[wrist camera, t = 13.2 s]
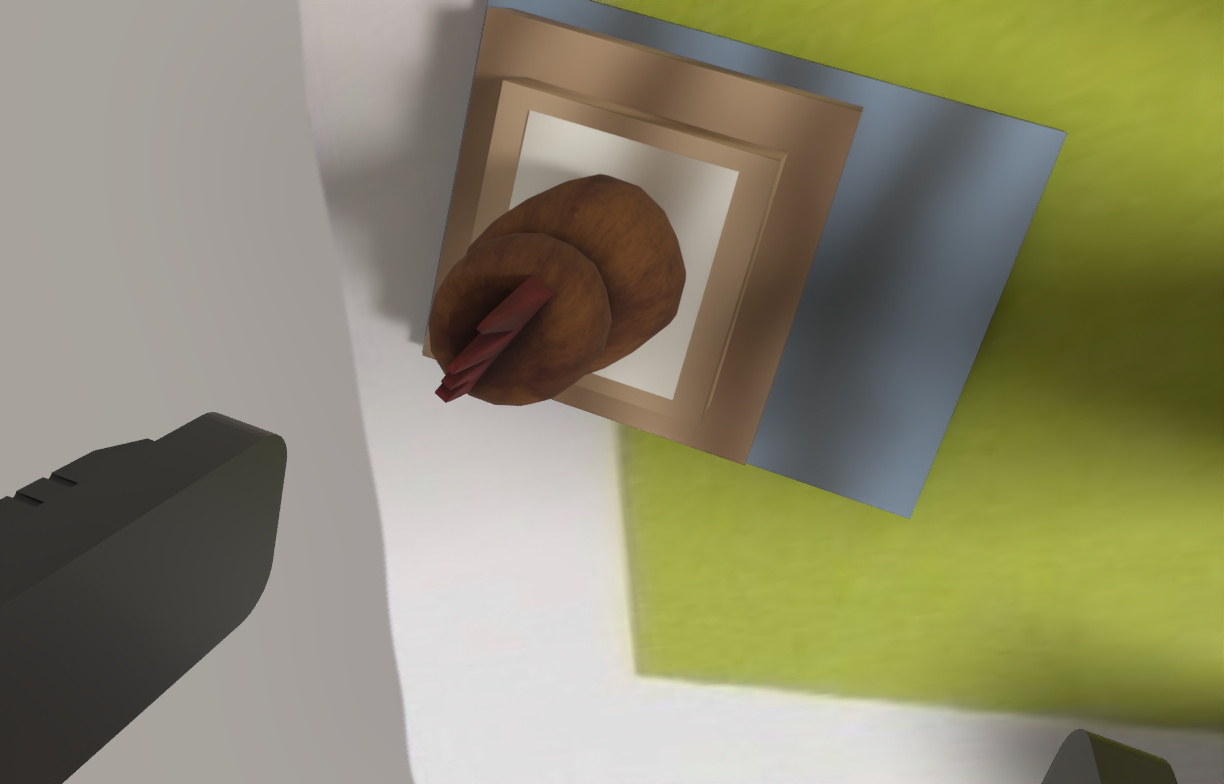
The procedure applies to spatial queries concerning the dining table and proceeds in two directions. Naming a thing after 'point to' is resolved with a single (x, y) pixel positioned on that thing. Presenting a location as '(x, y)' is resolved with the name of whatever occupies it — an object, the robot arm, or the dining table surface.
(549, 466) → the dining table surface
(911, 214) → the board
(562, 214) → the wooden figurine
